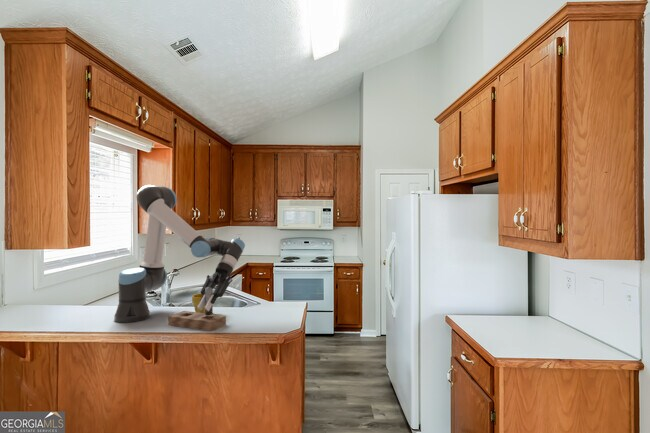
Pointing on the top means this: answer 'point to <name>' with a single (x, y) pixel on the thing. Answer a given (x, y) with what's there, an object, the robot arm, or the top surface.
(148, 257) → the robot arm
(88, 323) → the top surface
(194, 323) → the walnut block
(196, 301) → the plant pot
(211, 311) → the metal pin
